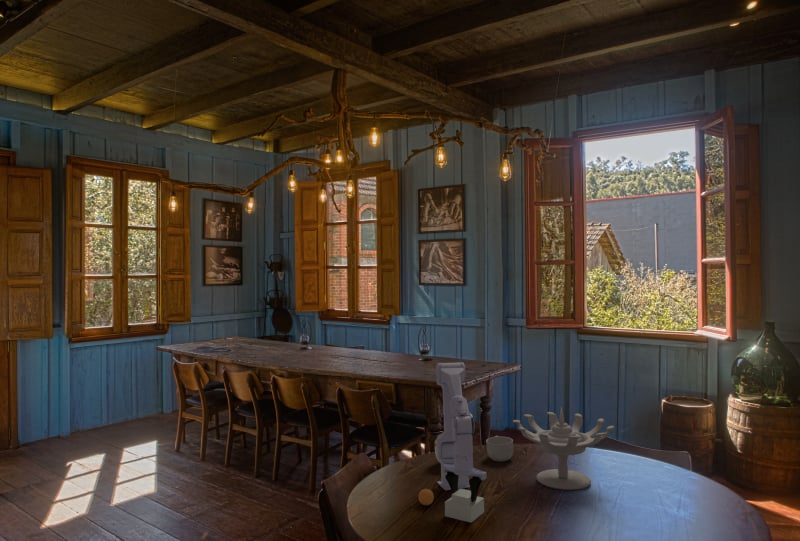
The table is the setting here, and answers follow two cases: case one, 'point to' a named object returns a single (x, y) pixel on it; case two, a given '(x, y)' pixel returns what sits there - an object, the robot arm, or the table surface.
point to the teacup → (500, 448)
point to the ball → (426, 497)
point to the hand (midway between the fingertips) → (464, 498)
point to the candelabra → (563, 448)
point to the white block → (464, 506)
